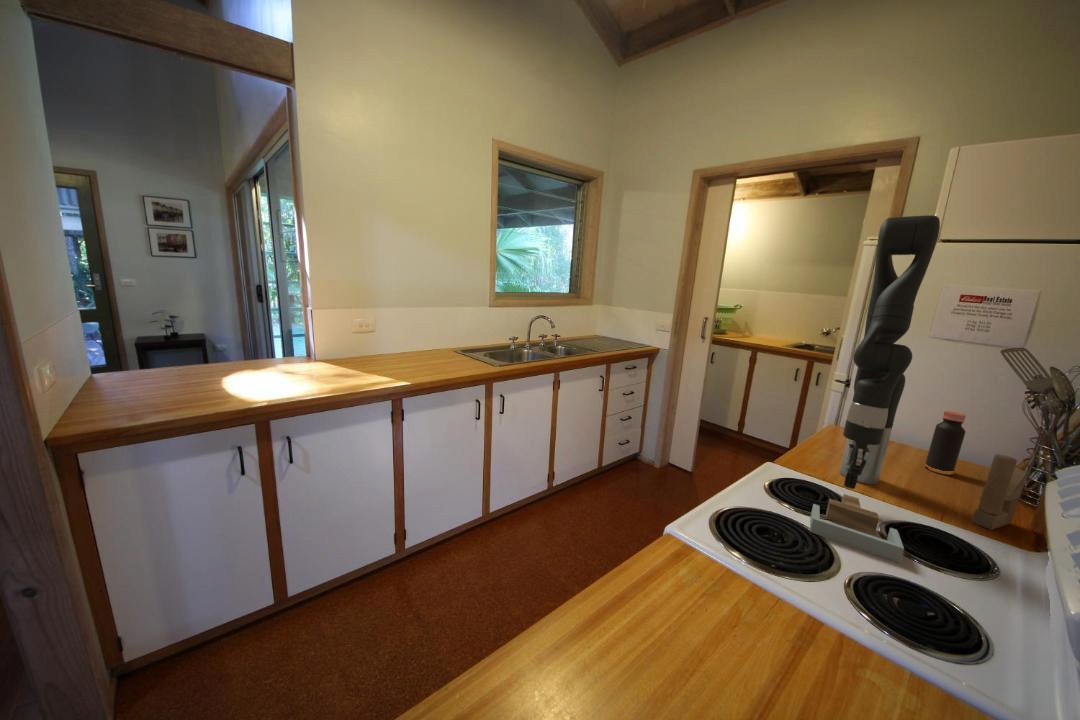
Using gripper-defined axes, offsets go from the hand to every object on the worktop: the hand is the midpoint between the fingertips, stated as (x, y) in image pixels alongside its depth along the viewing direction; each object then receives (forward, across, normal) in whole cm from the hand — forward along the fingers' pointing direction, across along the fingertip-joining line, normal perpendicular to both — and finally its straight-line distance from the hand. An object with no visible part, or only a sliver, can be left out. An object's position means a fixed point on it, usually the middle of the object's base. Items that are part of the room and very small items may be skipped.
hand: (849, 486), depth 102 cm
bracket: (+5, +17, 0) cm, 18 cm away
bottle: (+4, -54, +27) cm, 60 cm away
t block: (+5, +8, 0) cm, 10 cm away
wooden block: (+4, -17, +30) cm, 35 cm away
